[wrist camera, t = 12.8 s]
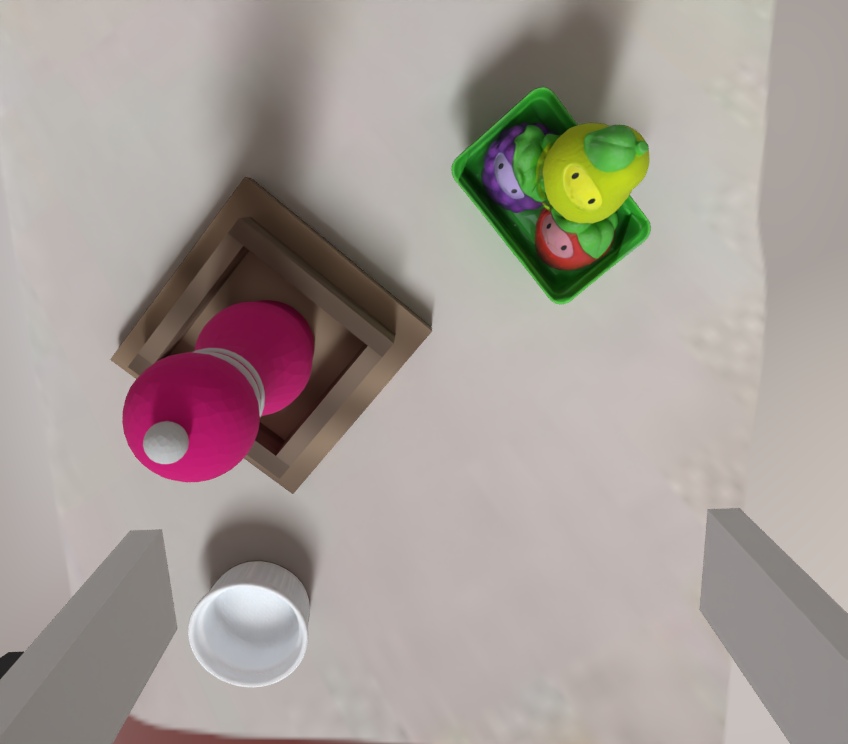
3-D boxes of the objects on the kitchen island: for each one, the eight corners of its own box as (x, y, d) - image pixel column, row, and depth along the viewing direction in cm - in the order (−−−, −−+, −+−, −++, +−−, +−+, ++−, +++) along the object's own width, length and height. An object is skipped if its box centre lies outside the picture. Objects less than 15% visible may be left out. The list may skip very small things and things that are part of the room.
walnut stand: (250, 178, 44) (232, 175, 40) (431, 327, 47) (432, 340, 43) (119, 354, 47) (89, 370, 43) (296, 485, 50) (284, 512, 46)
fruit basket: (441, 172, 44) (448, 162, 33) (544, 80, 43) (587, 39, 32) (544, 299, 47) (582, 329, 36) (645, 216, 45) (718, 220, 34)
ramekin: (187, 573, 52) (167, 606, 48) (290, 538, 51) (279, 568, 47) (233, 663, 54) (218, 702, 50) (333, 630, 53) (325, 667, 49)
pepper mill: (221, 392, 47) (78, 530, 27) (214, 291, 45) (56, 361, 25) (323, 394, 47) (252, 532, 27) (320, 293, 45) (242, 364, 25)
